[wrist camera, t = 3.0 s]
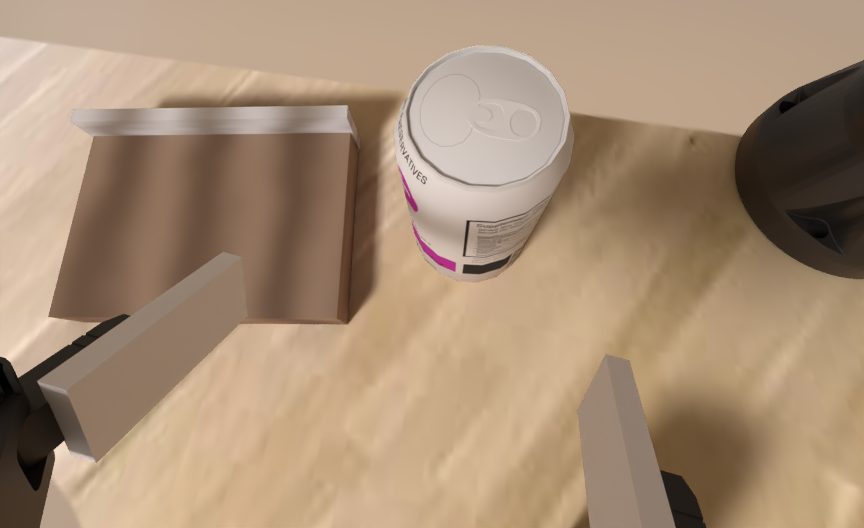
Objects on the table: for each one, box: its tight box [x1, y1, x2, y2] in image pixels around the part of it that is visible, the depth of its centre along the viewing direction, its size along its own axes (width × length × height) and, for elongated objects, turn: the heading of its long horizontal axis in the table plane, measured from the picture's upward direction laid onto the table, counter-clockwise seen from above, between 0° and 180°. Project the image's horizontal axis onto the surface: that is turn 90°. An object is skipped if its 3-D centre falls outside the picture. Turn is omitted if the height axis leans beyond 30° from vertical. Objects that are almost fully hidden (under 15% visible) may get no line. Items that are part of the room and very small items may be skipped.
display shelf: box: [48, 105, 361, 324], centre depth 31 cm, size 20×15×5 cm
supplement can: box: [394, 46, 575, 282], centre depth 25 cm, size 8×8×15 cm
